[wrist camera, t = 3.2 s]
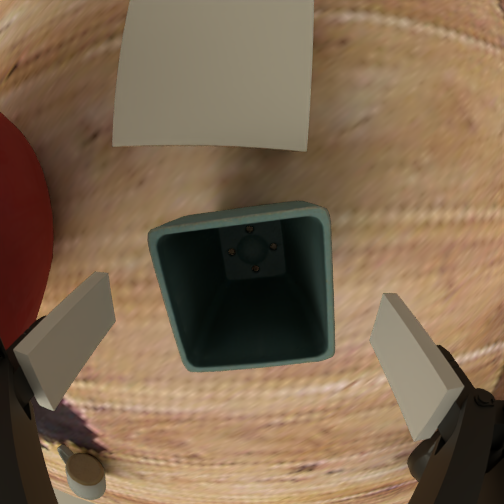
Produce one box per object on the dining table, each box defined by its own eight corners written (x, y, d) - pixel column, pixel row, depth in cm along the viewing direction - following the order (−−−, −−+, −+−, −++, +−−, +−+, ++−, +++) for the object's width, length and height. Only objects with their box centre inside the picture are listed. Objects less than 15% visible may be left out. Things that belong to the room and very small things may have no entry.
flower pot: (304, 183, 22) (330, 204, 13) (314, 291, 24) (335, 360, 16) (188, 199, 22) (143, 230, 14) (209, 302, 25) (185, 373, 17)
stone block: (302, 18, 17) (313, -19, 11) (295, 151, 21) (306, 151, 15) (161, 18, 17) (133, -13, 12) (148, 146, 21) (112, 146, 15)
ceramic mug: (110, 461, 37) (96, 494, 30) (111, 477, 39) (99, 506, 32) (57, 435, 36) (40, 464, 29) (63, 453, 39) (48, 480, 32)
